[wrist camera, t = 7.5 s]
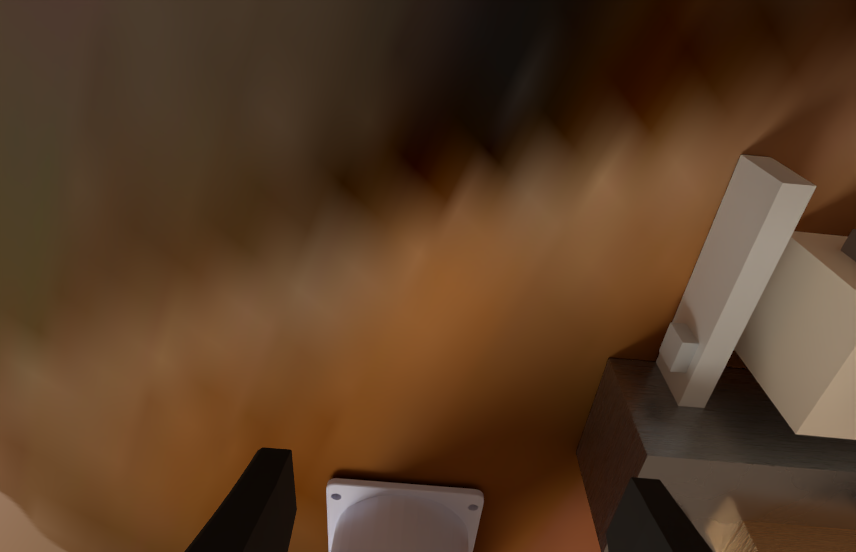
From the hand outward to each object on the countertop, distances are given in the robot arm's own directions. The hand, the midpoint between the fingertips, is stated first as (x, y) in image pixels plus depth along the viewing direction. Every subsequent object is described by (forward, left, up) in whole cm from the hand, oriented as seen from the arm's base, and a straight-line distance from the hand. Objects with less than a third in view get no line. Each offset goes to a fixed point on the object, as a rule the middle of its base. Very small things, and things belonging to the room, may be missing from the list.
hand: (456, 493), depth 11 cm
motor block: (-7, -14, -10) cm, 19 cm away
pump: (0, -14, -10) cm, 17 cm away
